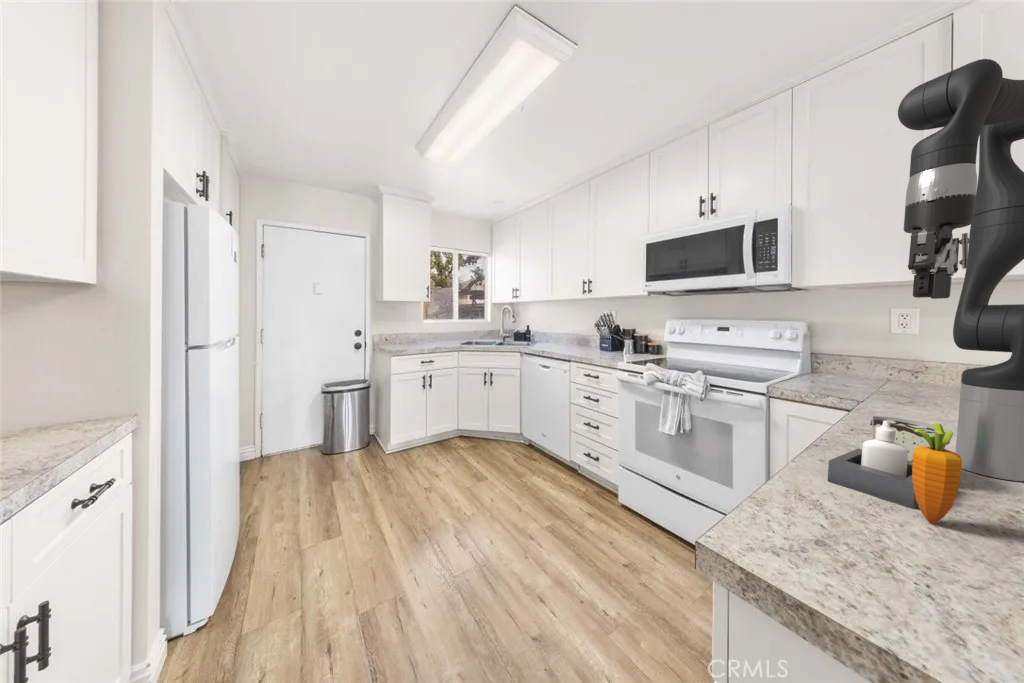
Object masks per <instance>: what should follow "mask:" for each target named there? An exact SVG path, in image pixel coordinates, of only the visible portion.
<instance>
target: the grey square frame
mask: <svg viewBox="0 0 1024 683" xmlns="http://www.w3.org/2000/svg"><path fill="white" fill-rule="evenodd" d="M861 459H862V448H856V449H853V450H850V451H848V452H845V453H843V454H841V455H839V456H836V457H834V458H831V459H829V460H828V468H827V469H828V470H827V482H829V483H832V484H836V485H838V486H841V487H845V488H848V489H851V490H854V491H857V492H860V493H863V494H866V495H869V496H872V497H876V498H878V499H882V500H885V501H887V502H892V503H895V504H898V505H900V506H903V507H906V508H910V509H912V510H913V509H915V508H916V507H919V506H918V503H917V501H916V497H915V492H914V487H913V481H912V461H908V460H907V474H906V477H903V476H899V475H895V474H892V473H888V472H884V471H881V470H877V469H873V468H870V467H866V466H862V465H861Z"/></svg>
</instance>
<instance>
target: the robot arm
mask: <svg viewBox="0 0 1024 683" xmlns="http://www.w3.org/2000/svg"><path fill="white" fill-rule="evenodd" d="M897 118H898V120H899V122H900V124H902V125H903V126H904V127H905V128H907V129H909V130H913V131H928V130H933V129H939V128H941V129H939V130H938V131H935V132H934V133H932V134H930V135H929V136H926V137H925V138H922V139H920V140H919V141H918V142H917V143H915V144H914V146H913V147H912V149H911V152H910V165H909V166H910V167H909V178H908V179H909V180H908V184H907V188H906V192H905V206H904V207H905V208H904V220H903V231H904V233H906V234H911V235H910V242H909V243H910V246H909V254H908V255H909V258H908V264H907V268H908V270H909V271H911V274H912V275H913V286H912V287H913V288H912V296H913V297H914V298H918V299H920V298H930V299H931V300H933V299H934V300H935V299H937V300H938V299H949V298H950V297H951V289H952V277H953V276H954V275H955V274H957V273H958V271H959V267H958V266H959V249H960V248H959V247H960V242H961V239H960V238H959V237H954V238H953V230H956V229H961V228H966V227H968V226H969V227H970V228H969V235H968V236H969V237H968V238H969V239H968V249H967V250H968V251H967V259H966V267H965V274H964V279H963V283H962V287H961V291H960V296H959V300H958V303H957V308H956V310H955V311H956V312H955V316H954V322H953V327H952V329H953V330H952V336H953V341H954V344H955V345H956V347H957V348H959V349H961V350H967V351H979V352H997V353H998V352H999V353H1011V356H1010V357H1009V359H1007V360H1005V361H1003V362H1000V363H997V364H992V365H988V366H981V367H980V366H979V367H972V368H967V369H965V370H963V371H962V373H961V376H960V377H961V380H960V382H961V383H960V391H959V404H958V405H959V406H958V415H957V416H958V417H957V427H956V441H955V443H956V444H955V451H954V452H955V453H957V454H958V455H959V456H960V457H961V459H962V467H961V470H962V469H963V470H964V471H968V472H971V473H975V474H979V475H982V476H985V477H991V478H996V479H1001V480H1006V481H1016V482H1024V304H1021V303H1020V304H1016V303H1015V304H989V303H990V300H991V297H992V295H993V293H994V291H995V289H996V288H997V286H998V285H999V284H1000V282H1002V280H1003V279H1004V278H1005V276H1006V275H1007V274H1009V273H1010V272H1011V271H1012V270H1013V269H1015V267H1016V266H1017V265H1019V264H1020V263H1021V262H1022V261H1024V171H1023V169H1021V168H1020V167H1019V165H1017V163H1016V161H1015V160H1014V158H1013V157H1012V153H1011V150H1012V149H1011V148H1012V144H1013V143H1014V142H1017V141H1021V140H1024V79H1013V78H1007V77H1003V69H1002V67H1001V65H1000V64H999V63H998V62H997V61H995V60H993V59H990V58H982V59H977V60H975V61H974V60H973V61H972V62H969V63H967V64H964V65H963V66H959V67H958V68H955V69H953V70H951V71H948V72H946V73H944V74H941V75H939V76H937V77H934V78H933V79H930V80H928V81H925V82H923V83H921V84H919V85H917V86H916V87H913V89H911V90H910V91H908V93H906V95H905V96H904V97H903V98H902V100H900V103H899V105H898V109H897ZM978 142H979V149H978ZM978 150H979V151H978ZM978 152H979V153H978ZM977 153H978V154H979V158H978V159H979V160H978V173H977ZM977 174H978V175H977Z"/></svg>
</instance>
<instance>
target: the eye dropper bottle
mask: <svg viewBox="0 0 1024 683" xmlns="http://www.w3.org/2000/svg"><path fill="white" fill-rule="evenodd" d="M895 433H896V431H895V430H894V429H892V428H891V427H890V424H889V422H888V421H883V424H882V426H881V427H877V428H876V439H874V440H873V439H869V440H865V441H864V442H863V443H862V448H861V449H862V459H861V465H862V466H866V467H870V468H873V469H877V470H881V471H884V472H888V473H892V474H895V475H899V476H903V477H906V474H907V459H908V451H907V449H906V448H905V447H904V446H902V445H900V444H898V443H895V442H894V441H895Z"/></svg>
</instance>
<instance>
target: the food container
mask: <svg viewBox="0 0 1024 683" xmlns="http://www.w3.org/2000/svg"><path fill="white" fill-rule="evenodd" d="M871 417H872V418H871V419H870V422H869V425H870V426H872V440H874V439H876V428H877V427H881V426H882V424H883V421H888V422H889V424H890V427H891V428H892V429H894V430H895V431H896V433H895V441H894V442H895V443H898V444H900V445H902V446H904V447H905V448H906V449H907V451H908V459H907V460H908V461H912V462H913V453H914V450H915V448H917V447H920V446H930V445H929V444H928V442H927V441H926V440H925V439H924V438H923V437H922V436H921V435H919V434H917V433H916V432H915V430H916V429H919V430H922V431H924V432H925V433H927V434H928V435H934V436H935V430H934V427H933V424H931V423H926V422H922V421H917V420H912V419H907V418H899V417H893V416H891V417H890V416H889V417H888V416H882V415H881V416H880V415H878V416H877V415H875V416H874V415H872V416H871ZM943 430H944V434H945V433H946V432H947V429H945V428H943ZM950 444H951V440H950V441H949V442H948V444H947V445H950ZM947 445H946V446H947Z"/></svg>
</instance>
